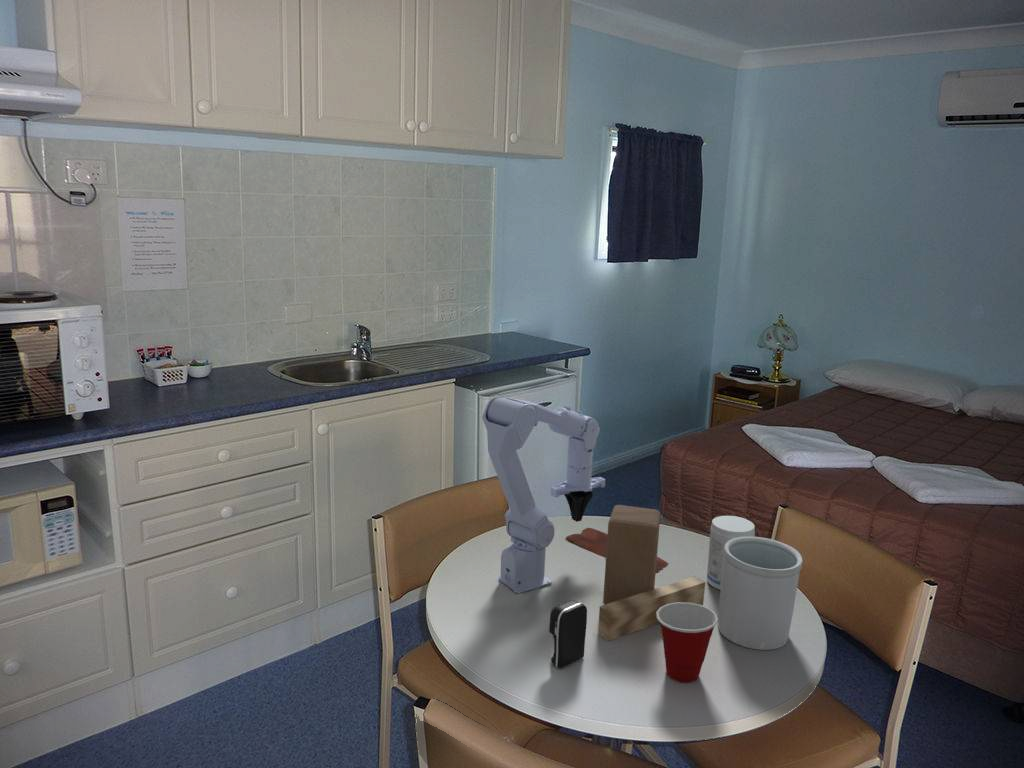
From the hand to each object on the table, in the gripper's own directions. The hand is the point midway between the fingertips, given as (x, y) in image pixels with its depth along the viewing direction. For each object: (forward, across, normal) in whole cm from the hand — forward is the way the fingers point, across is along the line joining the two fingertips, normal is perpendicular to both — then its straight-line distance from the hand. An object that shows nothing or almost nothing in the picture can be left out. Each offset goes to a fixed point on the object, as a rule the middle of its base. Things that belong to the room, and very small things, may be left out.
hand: (576, 519), depth 186 cm
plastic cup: (+10, -11, -47) cm, 49 cm away
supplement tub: (+10, +23, -27) cm, 37 cm away
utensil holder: (+10, +12, -44) cm, 47 cm away
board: (+10, -3, -30) cm, 32 cm away
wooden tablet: (+11, +12, -2) cm, 16 cm away
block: (+10, -2, -22) cm, 24 cm away
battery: (+10, -27, -33) cm, 44 cm away
